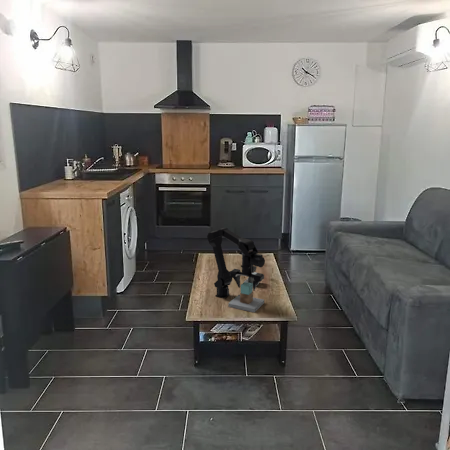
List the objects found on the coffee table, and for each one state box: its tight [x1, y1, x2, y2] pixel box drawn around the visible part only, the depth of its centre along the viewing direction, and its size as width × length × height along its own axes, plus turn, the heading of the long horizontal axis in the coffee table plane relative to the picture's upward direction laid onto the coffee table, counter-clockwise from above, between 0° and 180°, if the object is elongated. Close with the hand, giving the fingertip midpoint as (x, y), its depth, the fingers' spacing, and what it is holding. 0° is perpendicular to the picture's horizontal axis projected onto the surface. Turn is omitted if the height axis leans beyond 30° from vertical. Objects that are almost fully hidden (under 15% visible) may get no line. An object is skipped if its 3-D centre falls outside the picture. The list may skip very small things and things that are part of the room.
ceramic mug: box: [243, 272, 260, 286], centre depth 279 cm, size 11×8×8 cm
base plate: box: [227, 294, 265, 313], centre depth 250 cm, size 16×14×2 cm
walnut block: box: [239, 291, 254, 304], centre depth 249 cm, size 6×6×6 cm
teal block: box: [240, 281, 254, 295], centre depth 248 cm, size 5×5×5 cm
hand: (246, 289), depth 248 cm, fingers open, 9 cm apart
